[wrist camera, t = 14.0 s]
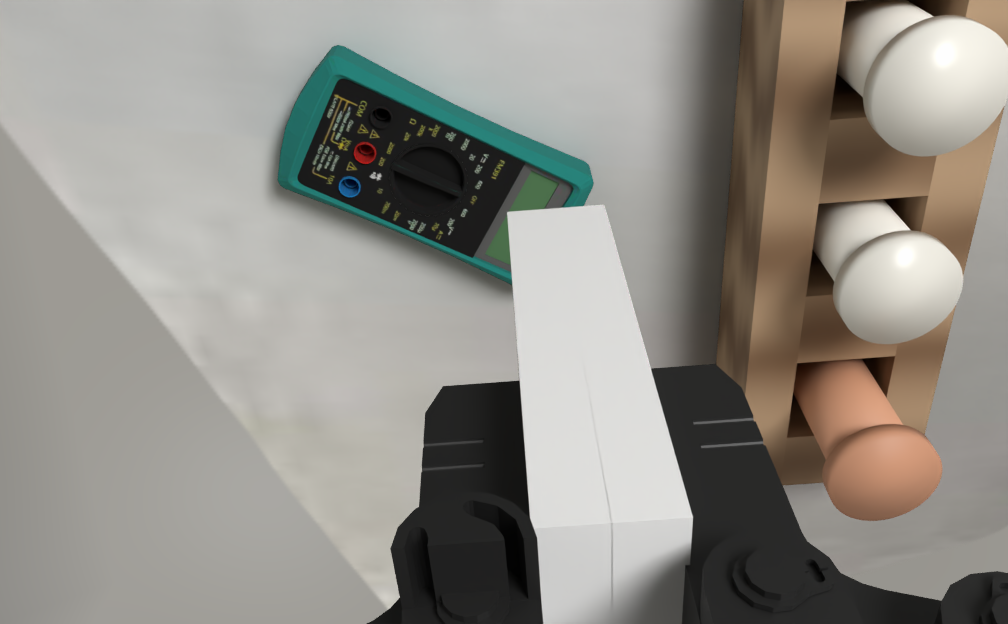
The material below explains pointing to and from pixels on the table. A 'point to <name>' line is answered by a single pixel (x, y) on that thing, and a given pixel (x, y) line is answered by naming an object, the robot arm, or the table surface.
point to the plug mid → (885, 271)
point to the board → (793, 213)
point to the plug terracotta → (864, 442)
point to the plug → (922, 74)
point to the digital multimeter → (419, 162)
